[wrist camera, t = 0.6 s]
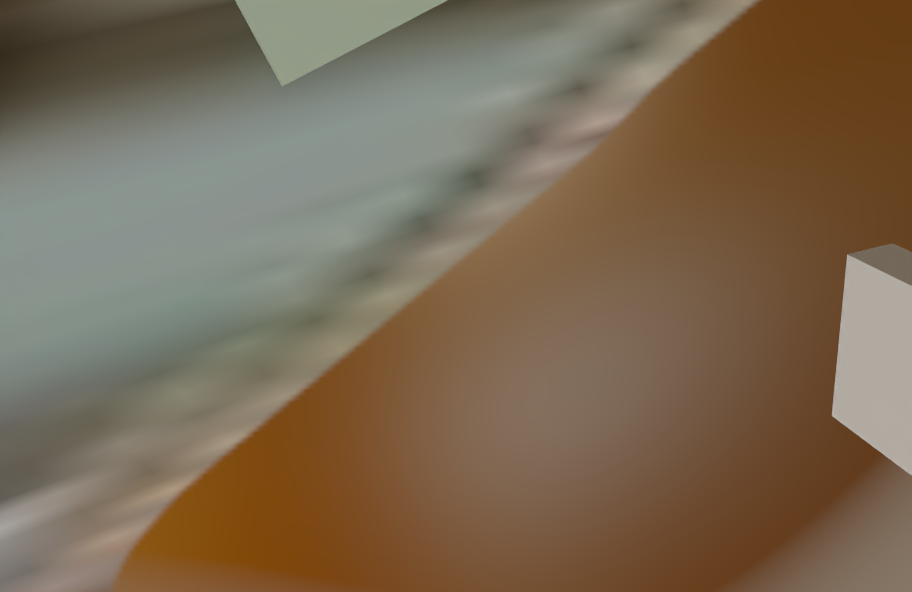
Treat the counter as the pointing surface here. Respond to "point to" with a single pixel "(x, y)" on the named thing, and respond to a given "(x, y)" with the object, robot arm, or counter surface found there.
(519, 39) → the counter surface
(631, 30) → the counter surface
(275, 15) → the pale green stand
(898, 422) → the robot arm
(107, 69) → the counter surface
